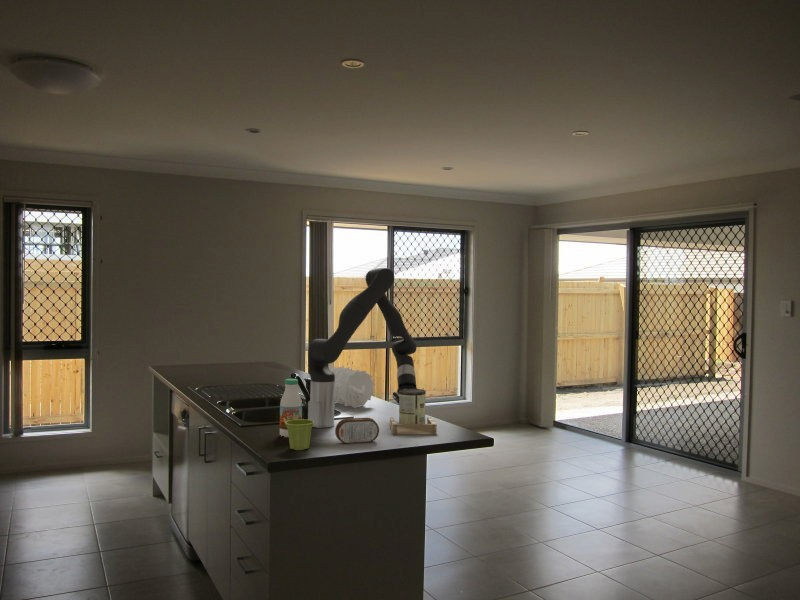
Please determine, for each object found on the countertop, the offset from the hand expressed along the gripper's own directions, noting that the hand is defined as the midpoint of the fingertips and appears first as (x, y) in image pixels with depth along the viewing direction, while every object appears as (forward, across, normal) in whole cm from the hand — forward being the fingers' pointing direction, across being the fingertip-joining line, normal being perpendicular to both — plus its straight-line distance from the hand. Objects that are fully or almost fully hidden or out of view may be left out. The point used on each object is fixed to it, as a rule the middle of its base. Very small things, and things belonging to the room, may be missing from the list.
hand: (409, 413), depth 255 cm
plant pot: (+31, -41, -25) cm, 57 cm away
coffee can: (+7, 0, -1) cm, 7 cm away
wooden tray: (+11, 0, -5) cm, 12 cm away
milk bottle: (+17, -45, -11) cm, 49 cm away
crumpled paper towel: (-29, -24, +36) cm, 52 cm away
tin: (+26, -21, -20) cm, 39 cm away
